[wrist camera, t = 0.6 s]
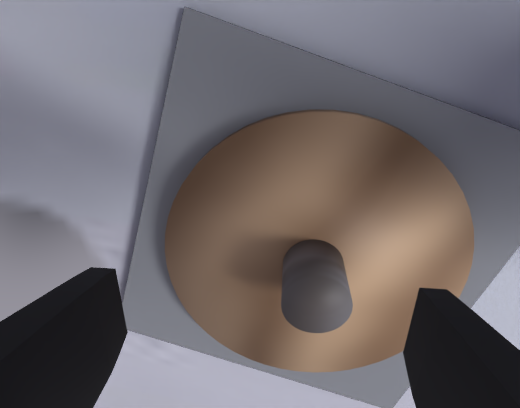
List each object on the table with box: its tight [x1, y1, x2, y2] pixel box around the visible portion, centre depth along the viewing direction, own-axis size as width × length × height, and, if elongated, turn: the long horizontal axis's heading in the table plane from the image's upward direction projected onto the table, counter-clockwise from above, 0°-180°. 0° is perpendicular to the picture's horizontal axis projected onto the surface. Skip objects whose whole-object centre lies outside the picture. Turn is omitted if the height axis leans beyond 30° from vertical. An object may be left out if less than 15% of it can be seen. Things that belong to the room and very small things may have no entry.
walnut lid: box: [165, 109, 474, 372], centre depth 17 cm, size 15×15×4 cm
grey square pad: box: [122, 7, 520, 408], centre depth 19 cm, size 18×18×1 cm
